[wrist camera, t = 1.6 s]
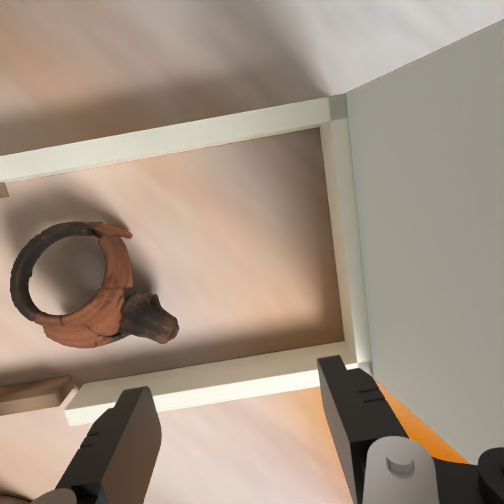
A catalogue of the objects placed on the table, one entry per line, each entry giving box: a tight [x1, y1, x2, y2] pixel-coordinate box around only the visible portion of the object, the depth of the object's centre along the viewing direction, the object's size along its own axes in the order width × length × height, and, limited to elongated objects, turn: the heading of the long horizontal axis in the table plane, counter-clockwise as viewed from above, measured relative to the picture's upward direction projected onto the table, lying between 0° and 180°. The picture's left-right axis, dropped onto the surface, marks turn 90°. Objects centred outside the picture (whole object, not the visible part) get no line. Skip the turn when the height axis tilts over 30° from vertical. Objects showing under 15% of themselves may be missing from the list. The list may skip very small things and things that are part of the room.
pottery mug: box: [10, 222, 179, 348], centre depth 26 cm, size 12×10×8 cm
